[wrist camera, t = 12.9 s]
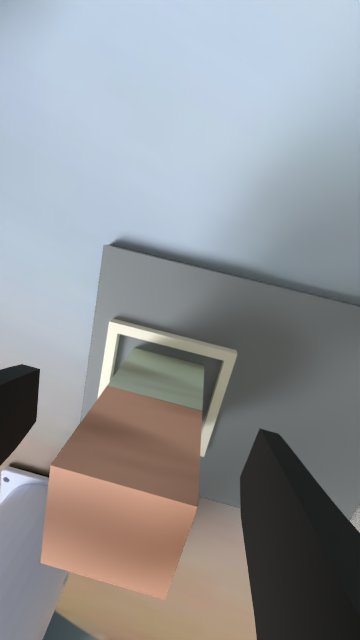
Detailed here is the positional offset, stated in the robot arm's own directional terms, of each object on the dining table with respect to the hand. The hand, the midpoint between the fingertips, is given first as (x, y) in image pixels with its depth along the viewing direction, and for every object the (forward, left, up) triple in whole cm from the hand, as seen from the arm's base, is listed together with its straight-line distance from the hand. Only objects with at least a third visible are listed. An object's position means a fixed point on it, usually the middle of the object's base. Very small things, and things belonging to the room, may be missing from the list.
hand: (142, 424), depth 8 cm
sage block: (-4, 0, -8) cm, 9 cm away
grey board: (-4, -5, -9) cm, 11 cm away
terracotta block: (-4, 0, -3) cm, 5 cm away
